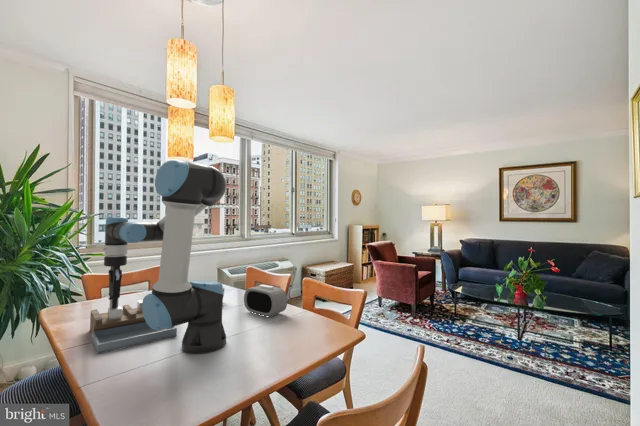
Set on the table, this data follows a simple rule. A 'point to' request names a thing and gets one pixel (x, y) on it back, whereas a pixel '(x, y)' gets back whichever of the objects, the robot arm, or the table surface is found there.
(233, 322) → the table surface
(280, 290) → the alarm clock
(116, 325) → the slot board
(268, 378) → the table surface
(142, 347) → the table surface
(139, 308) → the right block
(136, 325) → the tray
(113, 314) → the left block
